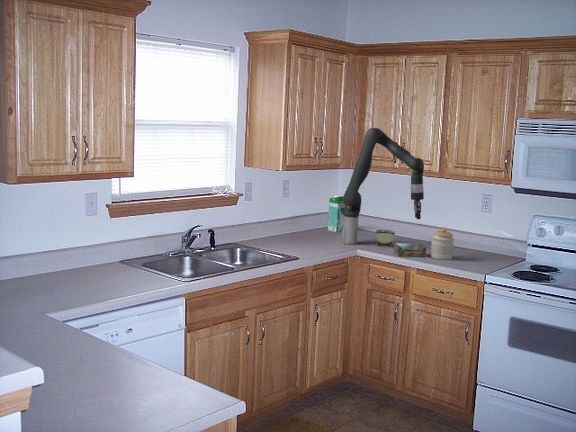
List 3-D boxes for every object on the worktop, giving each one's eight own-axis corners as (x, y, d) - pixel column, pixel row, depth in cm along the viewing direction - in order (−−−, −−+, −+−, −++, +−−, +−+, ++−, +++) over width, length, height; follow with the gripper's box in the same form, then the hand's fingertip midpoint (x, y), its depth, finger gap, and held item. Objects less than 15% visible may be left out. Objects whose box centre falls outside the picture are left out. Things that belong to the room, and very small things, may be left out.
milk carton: (336, 229, 473) (338, 194, 469) (345, 231, 466) (348, 196, 462) (327, 230, 467) (329, 194, 463) (336, 232, 460) (338, 196, 456)
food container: (393, 245, 424) (394, 230, 422) (394, 247, 418) (395, 231, 416) (374, 244, 425) (375, 228, 424) (374, 246, 419) (375, 230, 417)
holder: (397, 256, 392) (398, 247, 391) (393, 253, 400) (394, 244, 400) (425, 257, 394) (426, 247, 393) (420, 253, 403) (421, 244, 402)
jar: (449, 261, 386) (451, 231, 384) (427, 257, 393) (429, 228, 390) (455, 257, 398) (457, 228, 395) (433, 254, 404) (436, 225, 401)
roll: (397, 251, 404) (397, 243, 404) (395, 251, 409) (395, 243, 409) (413, 251, 405) (413, 243, 406) (410, 251, 410) (410, 243, 411)
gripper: (409, 190, 406) (410, 217, 407) (412, 192, 392) (412, 220, 393) (422, 190, 405) (422, 217, 407) (425, 192, 391) (425, 219, 393)
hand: (417, 218), depth 400 cm, fingers open, 8 cm apart
